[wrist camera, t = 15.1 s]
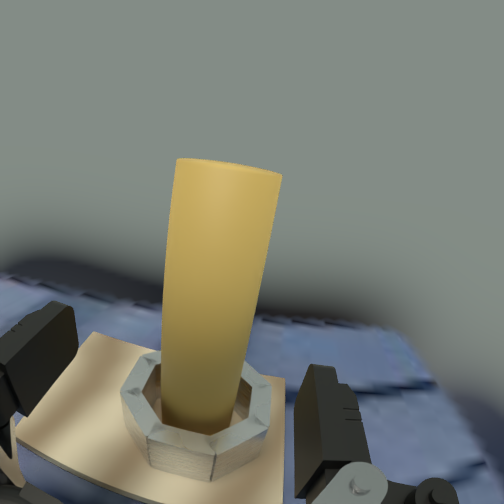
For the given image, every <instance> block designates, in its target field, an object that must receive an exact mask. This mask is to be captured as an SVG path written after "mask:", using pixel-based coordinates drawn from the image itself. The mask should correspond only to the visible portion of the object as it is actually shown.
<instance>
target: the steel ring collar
mask: <svg viewBox="0 0 504 504" xmlns="http://www.w3.org/2000/svg"><path fill="white" fill-rule="evenodd" d="M271 392H272V386H271V384H270V383H269V382H268V381H267V380H266V379H264V378H263V377H262V376H261V375H260V374H259V373H258V372H257V371H256V370H254V369H253V368H252V367H251V366H250V365H249V364H248V363H247V362H246V361H245V360H244V364H243V369H242V373H241V378H240V382H239V387H238V391H237V396H236V400H235V405H234V409H233V410H234V411H235V412H236V413H237V414H238V415H239V416H240V417H241V418H242V419H243V421H241V422H239V423H237V424H235V425H233V426H231V427H229V428H226V429H224V430H222V431H220V432H218V433H216V434H213V435H211V436H208V435H204V434H199V433H195V432H191V431H187V430H183V429H179V428H175V427H172V426H168V425H165V424H162V423H161V421H160V420H159V418H158V417H157V415H156V414H155V412H154V411H153V409H152V408H153V406H154V404H155V401H156V400H157V399H160V398H161V350H159V351H155V352H151V353H147V354H143V355H142V356H140V357H139V359H138V361H137V362H136V364H135V366H134V367H133V369H132V371H131V372H130V374H129V376H128V377H127V379H126V381H125V382H124V384H123V386H122V387H121V389H120V397H121V403H122V409H123V415H124V421H125V426H126V428H127V430H128V432H129V433H130V435H131V437H132V438H133V440H134V442H135V444H136V445H137V447H138V449H139V450H140V452H141V453H142V455H143V457H144V458H145V460H146V461H147V463H148V465H149V466H152V468H154V469H157V470H160V471H164V472H167V473H171V474H175V475H178V476H182V477H186V478H190V479H195V480H199V481H204V482H208V483H209V481H211V482H213V481H215V480H217V479H219V478H221V477H223V476H225V475H227V474H229V473H231V472H233V471H235V470H237V469H238V468H240V467H242V466H244V465H246V464H247V463H249V462H251V461H253V460H254V459H256V458H257V457H258V454H259V452H260V449H261V447H262V444H263V442H264V439H265V437H266V434H267V432H268V429H269V426H270V410H271Z"/></svg>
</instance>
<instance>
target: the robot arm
mask: <svg viewBox="0 0 504 504" xmlns="http://www.w3.org/2000/svg"><path fill="white" fill-rule="evenodd" d="M78 346H79V342H78V335H77V329H76V322H75V315H74V310H73V308H72V307H71V306H68V305H65V304H63V303H60V302H57V301H51V302H49V303H48V304H47V305H46V306H45V307H43V308H42V309H41V310H37V311H35V312H33V313H30V314H28V315H26V316H25V317H24V318H23V319H22V320H21V321H19V322H18V325H17V324H16V325H15V326H13V327H12V328H11V331H8V332H7V333H5V334H4V335H3V336H2V337H1V338H0V504H63V503H62V502H61V501H59V500H58V499H56V498H54V497H52V496H50V495H49V494H47V493H45V492H43V491H42V490H40V489H38V488H37V487H35V486H33V485H32V484H30V483H28V482H27V481H26V482H25V480H24V477H23V475H22V473H21V471H20V468H19V464H18V456H17V446H16V435H15V421H14V417H13V414H14V413H15V412H16V411H17V412H19V413H20V414H22V415H24V416H25V417H27V418H28V416H29V415H30V414H31V412H32V411H33V410H34V408H35V407H36V406H37V405H38V403H39V402H40V401H41V399H42V398H43V397H44V395H45V394H46V393H47V392H48V390H49V389H50V388H51V387H52V385H53V384H54V383H55V381H56V380H57V379H58V378H59V376H60V375H61V374H62V373H63V372H64V370H65V369H66V368H67V367H68V365H69V364H70V363H71V362H72V361H73V359H74V358H75V356H76V354H77V351H78ZM361 420H362V418H361V414H360V412H359V406H358V402H357V397H356V395H355V394H354V392H353V391H352V390H351V388H350V387H349V386H348V384H340V383H338V379H337V375H336V370H335V368H334V367H332V366H323V365H316V364H310V366H309V367H308V370H307V372H306V375H305V377H304V380H303V383H302V385H301V388H300V390H299V393H298V395H297V398H296V402H295V407H294V460H295V498H299V499H306V504H459V501H458V497H457V494H456V491H455V489H454V487H453V486H452V485H451V484H450V483H449V482H447V481H446V480H444V479H441V478H429V479H426V480H424V481H423V482H422V483H421V484H420V485H418V486H417V487H416V486H411V485H405V484H400V483H395V482H392V481H389V480H387V479H386V477H385V475H384V473H383V472H382V471H381V470H380V469H379V468H377V467H376V466H374V465H372V463H371V459H370V454H369V450H368V445H367V440H366V436H365V431H364V427H363V423H362V422H361Z"/></svg>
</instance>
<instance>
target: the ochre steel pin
mask: <svg viewBox="0 0 504 504" xmlns="http://www.w3.org/2000/svg"><path fill="white" fill-rule="evenodd" d="M281 180H282V175H281V174H278V173H275V172H272V171H269V170H265V169H260V168H256V167H251V166H245V165H240V164H234V163H228V162H221V161H213V160H204V159H191V158H180V159H177V162H176V169H175V177H174V184H173V192H172V201H171V209H170V219H169V228H168V238H167V249H166V262H165V275H164V291H163V310H162V338H161V414H162V424H165V425H168V426H172V427H175V428H179V429H183V430H187V431H191V432H195V433H199V434H204V435H208V436H211V435H213V434H216V433H218V432H220V431H222V430H224V429H226V428H229V427H230V423H231V418H232V414H233V409H234V405H235V400H236V396H237V391H238V387H239V382H240V378H241V373H242V369H243V364H244V360H245V355H246V350H247V346H248V341H249V337H250V332H251V327H252V323H253V318H254V313H255V308H256V304H257V299H258V294H259V289H260V284H261V280H262V274H263V270H264V265H265V260H266V256H267V251H268V245H269V241H270V236H271V231H272V225H273V220H274V216H275V211H276V206H277V201H278V196H279V190H280V186H281Z"/></svg>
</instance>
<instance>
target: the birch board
mask: <svg viewBox="0 0 504 504" xmlns="http://www.w3.org/2000/svg"><path fill="white" fill-rule="evenodd" d="M151 352H155V350H151V349H148V348H144V347H141V346H137V345H134V344H131V343H128V342H124V341H121V340H118V339H115V338H112V337H109V336H106V335H103V334H100V333H97V332H93V333H92V334H91V335H90V336H89V337H88V339H87V340H86V341H85V342H84V343H83V344H82V345H81V347H80V348H79V349H78V351H77V354H76V356H75V358H74V359H73V361H72V362H71V363H70V364H69V365H68V367H67V368H66V369H65V370H64V372H63V373H62V374H61V375H60V376H59V378H58V379H57V380H56V381H55V383H54V384H53V385H52V387H51V388H50V389H49V390H48V392H47V393H46V394H45V395H44V397H43V398H42V399H41V401H40V402H39V403H38V405H37V406H36V407H35V408H34V410H33V411H32V412H31V414H30V415H29V416H28V418H27V417H25V416H24V417H23V418H22V419H21V421H20V422H19V423H18V425H17V426H16V427H15V435H16V442H18V443H19V444H21V445H22V446H24V447H25V448H27V449H29V450H30V451H32V452H34V453H35V454H37V455H39V456H40V457H42V458H44V459H46V460H47V461H49V462H51V463H53V464H55V465H56V466H58V467H60V468H62V469H64V470H66V471H68V472H70V473H72V474H74V475H76V476H78V477H80V478H83V479H85V480H87V481H89V482H91V483H94V484H96V485H98V486H101V487H103V488H105V489H108V490H110V491H113V492H115V493H118V494H121V495H123V496H126V497H129V498H132V499H135V500H138V501H141V502H144V503H147V504H282V503H283V475H284V434H285V378H279V377H273V376H267V375H261V374H260V375H261V376H262V377H263V378H264V379H266V380H267V381H268V382H269V383H270V384H271V386H272V392H271V410H270V426H269V429H268V432H267V434H266V437H265V439H264V442H263V444H262V447H261V449H260V452H259V454H258V457H257V458H256V459H254V460H253V461H251V462H249V463H247V464H246V465H244V466H242V467H240V468H238V469H237V470H235V471H233V472H231V473H229V474H227V475H225V476H223V477H221V478H219V479H217V480H215V481H213V482H211V481H209V483H208V482H204V481H199V480H195V479H190V478H186V477H182V476H178V475H175V474H171V473H167V472H164V471H160V470H157V469H154V468H152V466H149V465H148V463H147V461H146V460H145V458H144V457H143V455H142V453H141V452H140V450H139V449H138V447H137V445H136V444H135V442H134V440H133V438H132V437H131V435H130V433H129V432H128V430H127V428H126V426H125V421H124V415H123V409H122V403H121V397H120V389H121V387H122V386H123V384H124V382H125V381H126V379H127V377H128V376H129V374H130V372H131V371H132V369H133V367H134V366H135V364H136V362H137V361H138V359H139V357H140V356H142V355H143V354H147V353H151ZM152 409H153V411H154V412H155V414H156V415H157V417H158V418H159V420H160V421H161V423H162V414H161V398H160V399H157V400H156V401H155V404H154V406H153V408H152ZM241 421H243V419H242V418H241V417H240V416H239V415H238V414H237V413H236V412H235V411H234V410H233V414H232V418H231V423H230V427H231V426H233V425H235V424H237V423H239V422H241Z"/></svg>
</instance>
